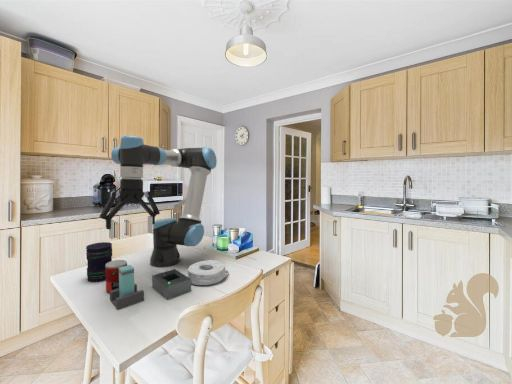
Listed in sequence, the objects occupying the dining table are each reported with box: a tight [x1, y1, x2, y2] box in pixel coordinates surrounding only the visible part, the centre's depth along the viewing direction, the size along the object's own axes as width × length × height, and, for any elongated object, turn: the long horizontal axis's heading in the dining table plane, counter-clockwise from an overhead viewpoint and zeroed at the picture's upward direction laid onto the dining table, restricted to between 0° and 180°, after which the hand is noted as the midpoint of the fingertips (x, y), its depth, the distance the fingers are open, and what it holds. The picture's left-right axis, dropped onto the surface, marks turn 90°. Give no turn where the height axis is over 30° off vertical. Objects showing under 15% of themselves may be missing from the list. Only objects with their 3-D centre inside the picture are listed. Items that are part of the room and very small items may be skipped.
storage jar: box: [85, 241, 113, 283], centre depth 109 cm, size 10×10×15 cm
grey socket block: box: [151, 268, 192, 300], centre depth 100 cm, size 14×10×6 cm
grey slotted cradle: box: [109, 283, 145, 311], centre depth 90 cm, size 9×9×4 cm
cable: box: [187, 259, 230, 286], centre depth 111 cm, size 18×18×6 cm
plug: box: [119, 264, 135, 297], centre depth 90 cm, size 4×4×12 cm
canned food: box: [105, 259, 128, 294], centre depth 99 cm, size 8×8×11 cm
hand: (131, 235), depth 91 cm, fingers open, 13 cm apart
